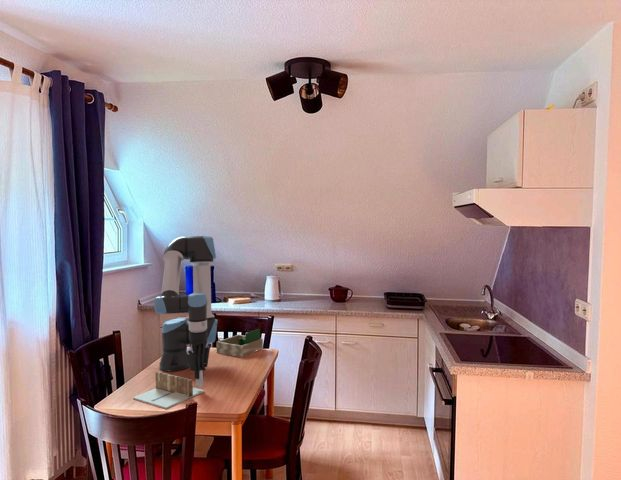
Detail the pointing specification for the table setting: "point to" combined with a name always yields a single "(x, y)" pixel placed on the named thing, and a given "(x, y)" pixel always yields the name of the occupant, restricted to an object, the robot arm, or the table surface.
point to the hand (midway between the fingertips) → (199, 385)
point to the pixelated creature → (250, 337)
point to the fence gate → (183, 386)
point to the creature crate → (238, 346)
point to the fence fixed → (165, 381)
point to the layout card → (164, 397)
